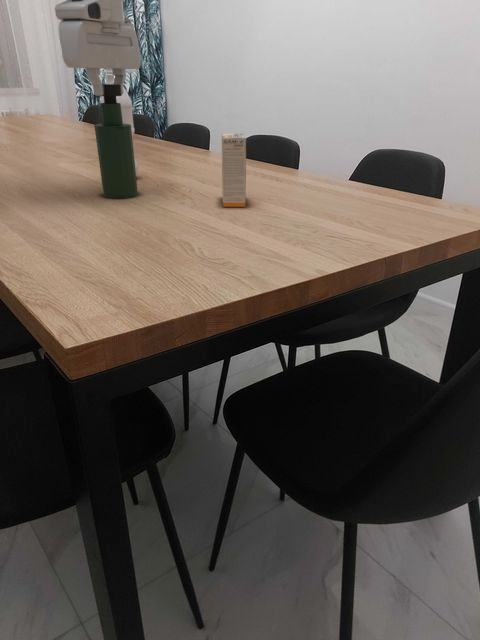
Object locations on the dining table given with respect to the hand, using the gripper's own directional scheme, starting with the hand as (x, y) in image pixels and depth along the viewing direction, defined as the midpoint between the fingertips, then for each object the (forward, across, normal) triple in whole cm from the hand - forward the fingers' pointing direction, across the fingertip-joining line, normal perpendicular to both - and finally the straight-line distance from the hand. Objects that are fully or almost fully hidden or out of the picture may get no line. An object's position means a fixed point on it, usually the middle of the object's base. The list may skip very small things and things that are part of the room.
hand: (109, 95), depth 100 cm
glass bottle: (+20, 0, 0) cm, 20 cm away
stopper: (+4, 0, 0) cm, 4 cm away
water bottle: (+20, -16, -10) cm, 27 cm away
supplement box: (+20, -4, +25) cm, 32 cm away
